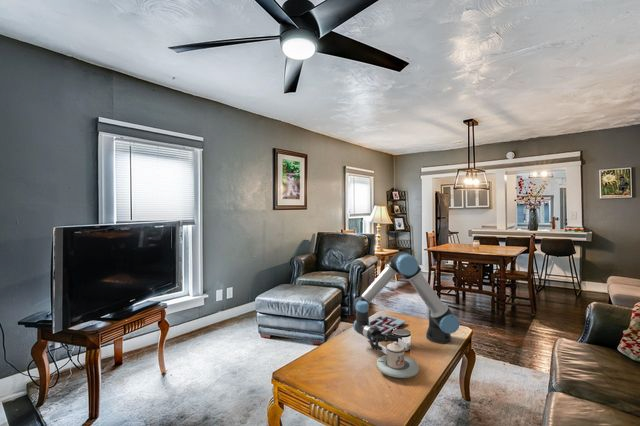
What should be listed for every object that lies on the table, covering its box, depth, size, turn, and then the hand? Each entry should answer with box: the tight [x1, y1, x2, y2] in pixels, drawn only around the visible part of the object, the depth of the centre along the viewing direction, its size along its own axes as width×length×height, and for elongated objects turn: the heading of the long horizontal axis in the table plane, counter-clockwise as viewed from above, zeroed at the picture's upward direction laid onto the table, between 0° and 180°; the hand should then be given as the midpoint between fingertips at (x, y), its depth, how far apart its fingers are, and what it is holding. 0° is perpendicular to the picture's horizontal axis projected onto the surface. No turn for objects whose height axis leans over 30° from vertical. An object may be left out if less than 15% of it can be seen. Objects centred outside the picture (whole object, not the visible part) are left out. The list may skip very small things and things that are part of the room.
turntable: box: [376, 354, 420, 379], centre depth 159 cm, size 21×21×2 cm
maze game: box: [369, 314, 407, 335], centre depth 217 cm, size 35×20×3 cm, turn 136°
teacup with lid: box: [386, 342, 406, 369], centre depth 159 cm, size 12×9×12 cm
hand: (397, 348), depth 159 cm, fingers open, 13 cm apart
